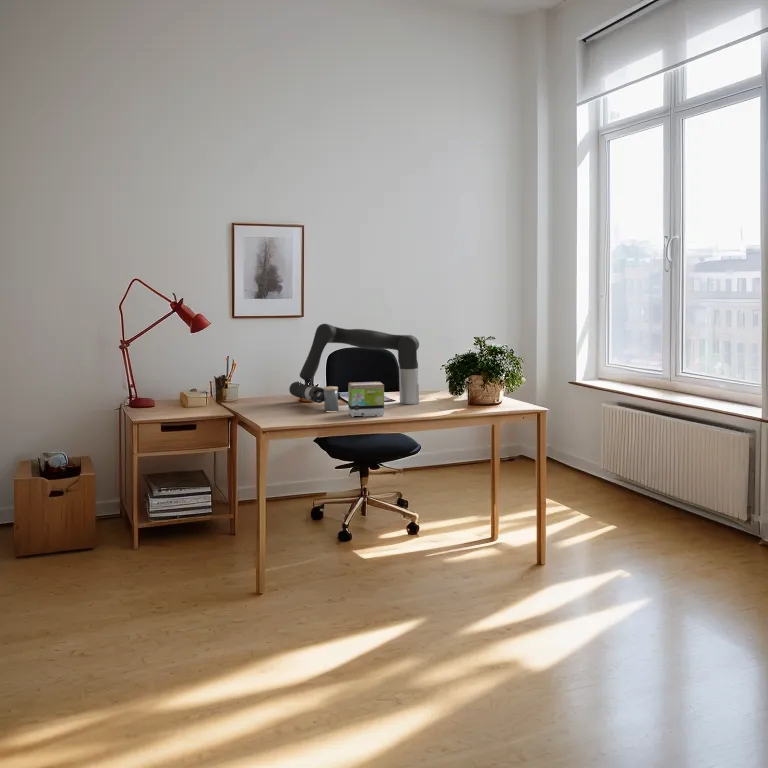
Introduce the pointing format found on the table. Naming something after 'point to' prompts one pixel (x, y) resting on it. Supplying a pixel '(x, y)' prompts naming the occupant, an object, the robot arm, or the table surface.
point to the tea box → (365, 399)
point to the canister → (331, 398)
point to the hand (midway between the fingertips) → (331, 398)
